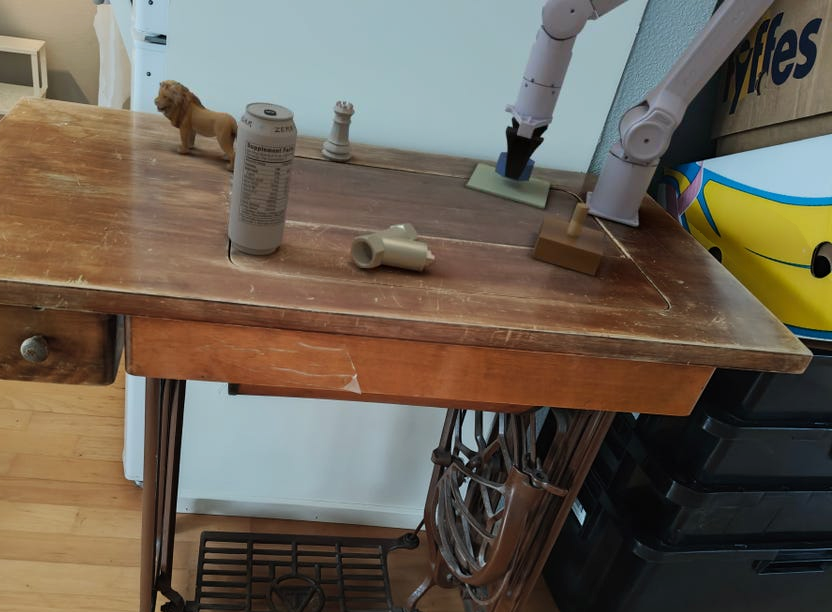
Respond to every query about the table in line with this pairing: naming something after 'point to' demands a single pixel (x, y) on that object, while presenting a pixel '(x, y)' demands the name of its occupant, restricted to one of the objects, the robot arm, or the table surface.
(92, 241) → the table surface
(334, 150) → the rook chess piece
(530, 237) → the table surface
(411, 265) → the pipe fitting
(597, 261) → the dowel stand
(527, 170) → the ring
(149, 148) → the table surface
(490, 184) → the mat
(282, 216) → the energy drink can
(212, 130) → the lion figurine
